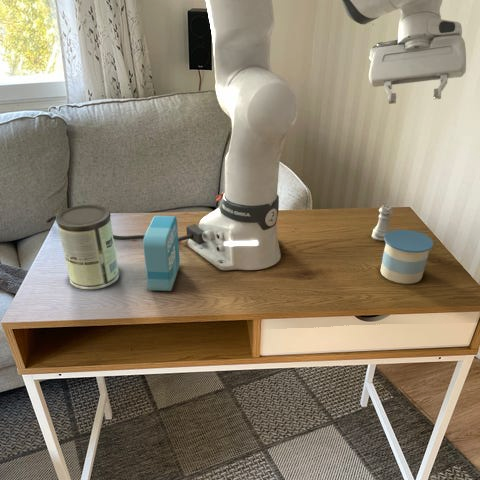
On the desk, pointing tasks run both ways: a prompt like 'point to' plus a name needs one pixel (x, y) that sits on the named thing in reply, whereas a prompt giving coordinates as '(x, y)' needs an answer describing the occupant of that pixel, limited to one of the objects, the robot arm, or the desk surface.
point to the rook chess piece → (382, 223)
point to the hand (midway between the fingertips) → (414, 100)
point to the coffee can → (88, 246)
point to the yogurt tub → (405, 256)
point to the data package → (161, 253)
